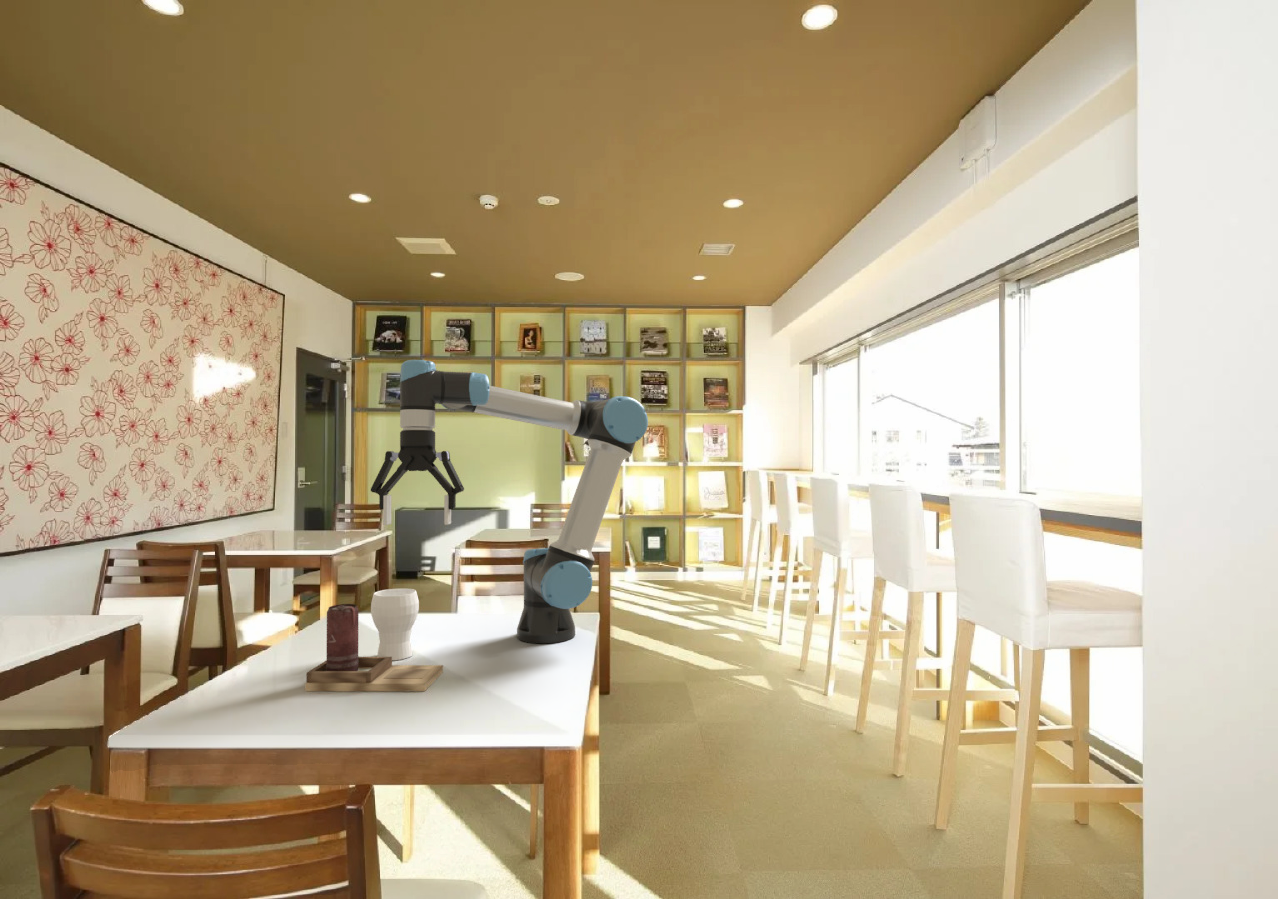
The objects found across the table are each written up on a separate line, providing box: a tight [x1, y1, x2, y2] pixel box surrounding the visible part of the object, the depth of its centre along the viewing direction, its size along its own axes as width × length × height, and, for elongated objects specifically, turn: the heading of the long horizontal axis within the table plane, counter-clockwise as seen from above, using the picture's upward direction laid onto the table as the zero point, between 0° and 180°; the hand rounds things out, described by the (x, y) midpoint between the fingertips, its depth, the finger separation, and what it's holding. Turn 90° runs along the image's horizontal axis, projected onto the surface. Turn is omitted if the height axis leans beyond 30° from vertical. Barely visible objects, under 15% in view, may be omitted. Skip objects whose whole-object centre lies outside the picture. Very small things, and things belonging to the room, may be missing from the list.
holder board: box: [304, 656, 444, 692], centre depth 140 cm, size 24×12×4 cm, turn 89°
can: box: [326, 603, 359, 671], centre depth 140 cm, size 6×6×14 cm
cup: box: [370, 588, 420, 661], centre depth 158 cm, size 11×11×15 cm
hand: (417, 524), depth 150 cm, fingers open, 13 cm apart
